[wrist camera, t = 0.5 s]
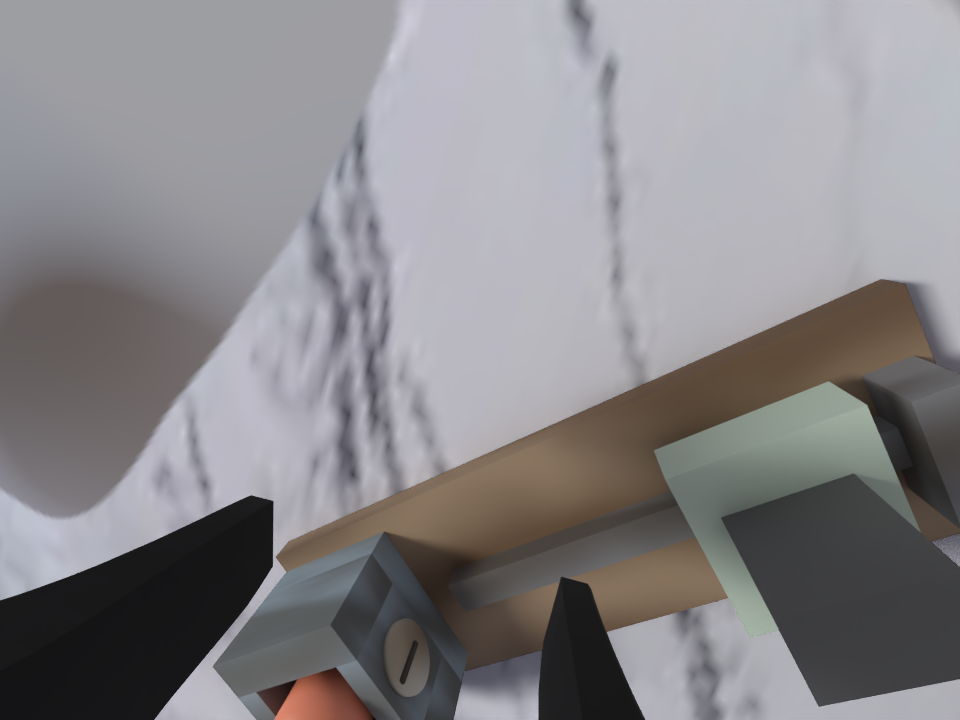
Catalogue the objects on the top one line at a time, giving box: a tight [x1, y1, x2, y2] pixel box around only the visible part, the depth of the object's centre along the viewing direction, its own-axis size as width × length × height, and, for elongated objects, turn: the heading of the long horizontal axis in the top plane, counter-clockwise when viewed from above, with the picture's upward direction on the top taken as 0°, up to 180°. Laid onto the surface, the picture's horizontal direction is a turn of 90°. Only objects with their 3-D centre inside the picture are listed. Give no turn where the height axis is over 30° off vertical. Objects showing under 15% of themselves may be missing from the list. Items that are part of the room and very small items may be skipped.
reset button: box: [274, 667, 374, 720], centre depth 19 cm, size 4×4×3 cm
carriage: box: [654, 381, 960, 707], centre depth 14 cm, size 7×6×7 cm
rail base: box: [213, 279, 960, 720], centre depth 18 cm, size 10×29×6 cm, turn 121°
